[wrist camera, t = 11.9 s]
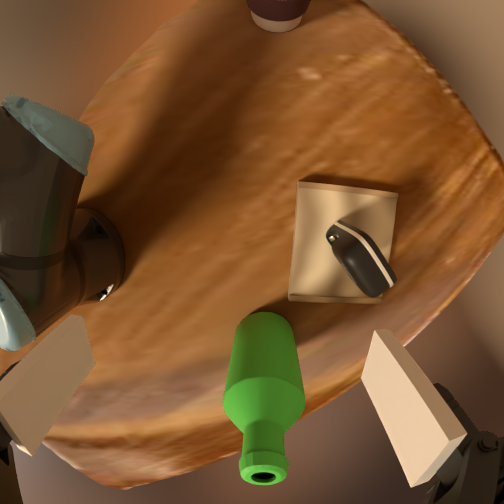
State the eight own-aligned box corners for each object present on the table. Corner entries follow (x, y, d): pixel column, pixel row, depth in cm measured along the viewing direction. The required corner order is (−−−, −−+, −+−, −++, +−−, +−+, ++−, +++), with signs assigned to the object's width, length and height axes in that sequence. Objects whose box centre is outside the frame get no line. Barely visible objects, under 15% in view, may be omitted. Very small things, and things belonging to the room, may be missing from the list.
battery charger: (316, 234, 36) (338, 258, 25) (338, 217, 35) (369, 232, 24) (345, 274, 37) (374, 309, 26) (366, 257, 36) (402, 286, 25)
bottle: (294, 355, 42) (313, 492, 18) (239, 359, 43) (221, 496, 19) (291, 305, 40) (318, 446, 16) (231, 311, 41) (199, 451, 17)
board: (287, 295, 40) (288, 301, 38) (297, 181, 36) (299, 181, 34) (377, 298, 40) (381, 303, 38) (392, 192, 36) (398, 193, 34)
